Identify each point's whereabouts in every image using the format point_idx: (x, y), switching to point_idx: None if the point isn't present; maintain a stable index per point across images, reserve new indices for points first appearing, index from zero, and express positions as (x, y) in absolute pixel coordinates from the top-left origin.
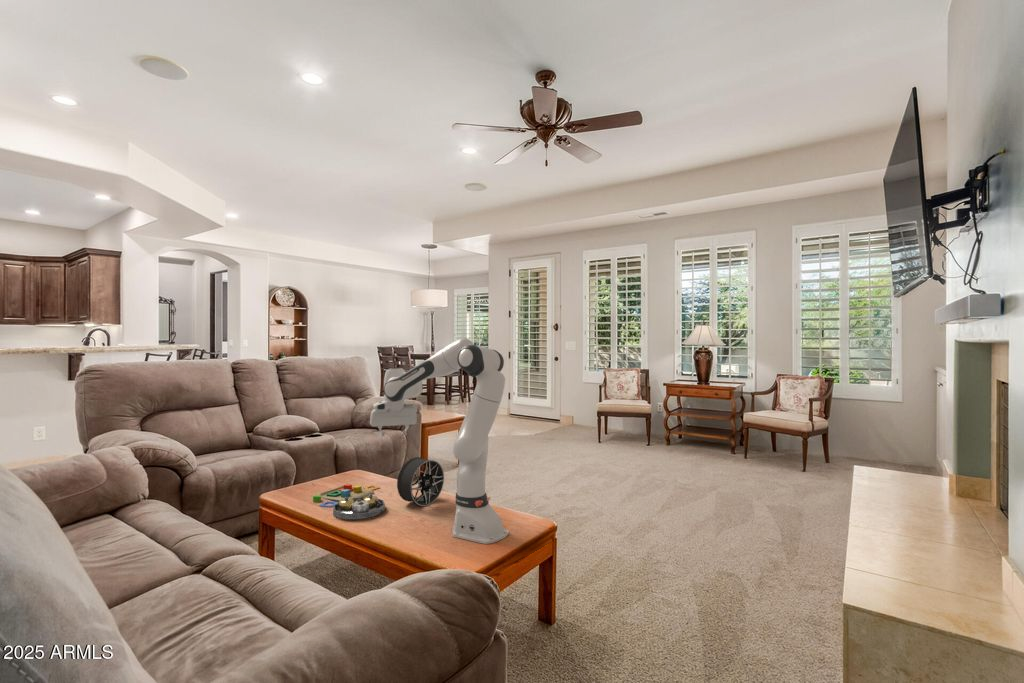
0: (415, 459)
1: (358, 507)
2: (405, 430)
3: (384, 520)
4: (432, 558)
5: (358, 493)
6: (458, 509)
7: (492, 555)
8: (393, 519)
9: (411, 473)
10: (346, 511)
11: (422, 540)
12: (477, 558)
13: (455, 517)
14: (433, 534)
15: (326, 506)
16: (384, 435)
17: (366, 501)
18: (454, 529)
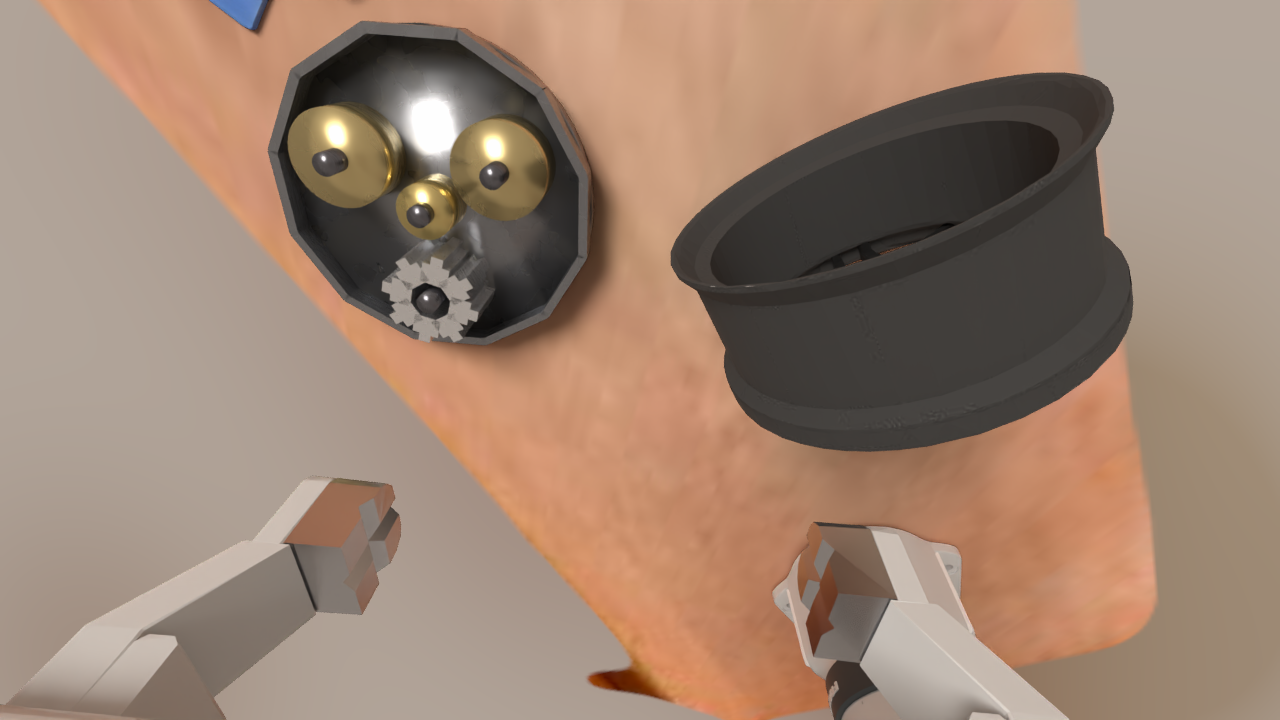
0: (915, 271)
1: (423, 337)
2: (877, 680)
3: (569, 373)
4: (656, 662)
5: None
6: (819, 673)
7: (811, 699)
8: (612, 378)
9: (768, 390)
10: (370, 218)
11: (667, 577)
12: (766, 697)
13: (799, 643)
14: (719, 556)
15: (218, 6)
16: (391, 553)
17: (472, 203)
18: (788, 598)
